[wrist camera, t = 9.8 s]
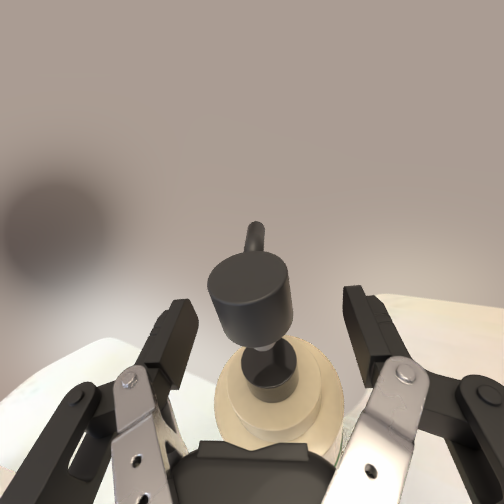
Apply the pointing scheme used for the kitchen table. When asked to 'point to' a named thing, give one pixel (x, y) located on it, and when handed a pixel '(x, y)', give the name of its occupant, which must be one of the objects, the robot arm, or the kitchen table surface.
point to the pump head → (252, 294)
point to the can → (5, 478)
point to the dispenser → (281, 399)
